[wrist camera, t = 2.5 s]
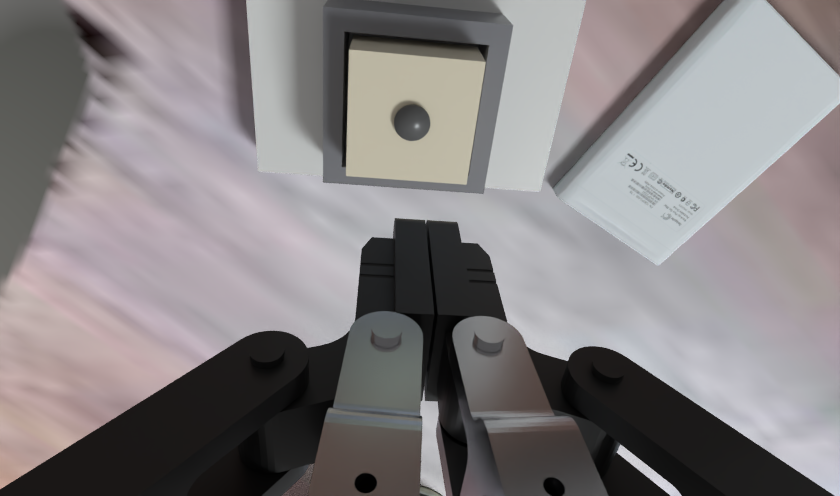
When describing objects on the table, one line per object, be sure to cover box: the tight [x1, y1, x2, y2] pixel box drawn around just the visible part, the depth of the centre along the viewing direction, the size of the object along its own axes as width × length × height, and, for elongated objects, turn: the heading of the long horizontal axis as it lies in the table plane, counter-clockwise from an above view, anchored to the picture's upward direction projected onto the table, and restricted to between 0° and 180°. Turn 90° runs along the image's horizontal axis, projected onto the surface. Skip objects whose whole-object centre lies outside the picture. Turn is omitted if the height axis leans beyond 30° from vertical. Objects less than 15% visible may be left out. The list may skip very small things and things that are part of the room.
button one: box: [346, 35, 486, 185], centre depth 22 cm, size 5×5×3 cm
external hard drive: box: [553, 0, 840, 266], centre depth 28 cm, size 2×8×12 cm
